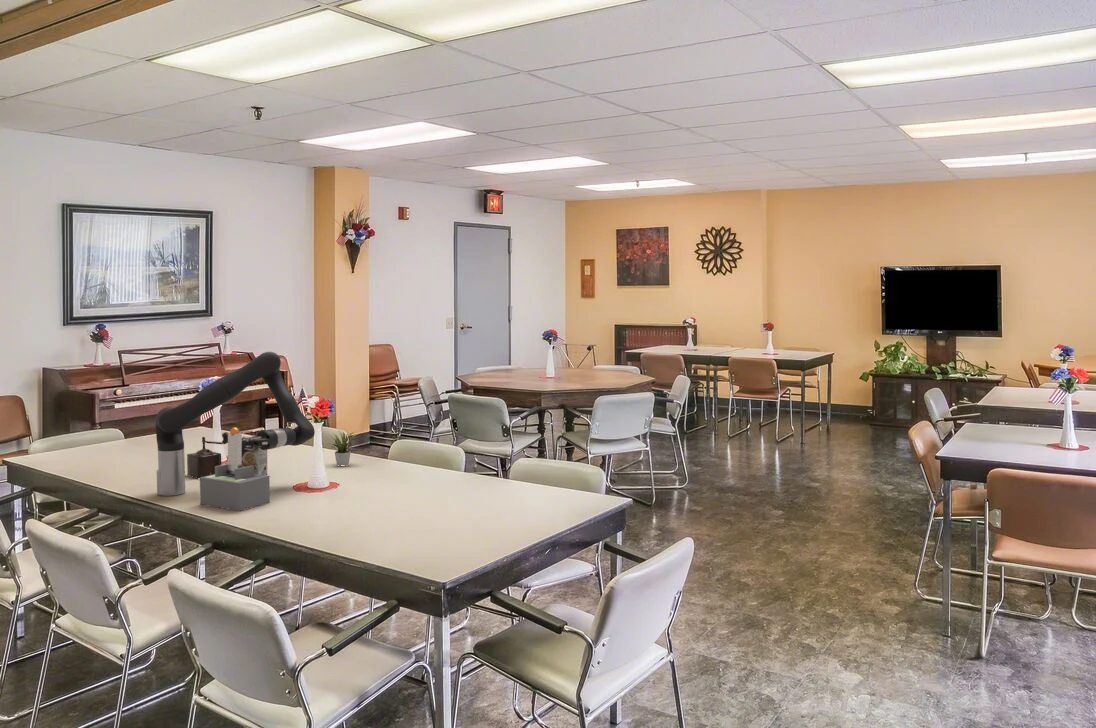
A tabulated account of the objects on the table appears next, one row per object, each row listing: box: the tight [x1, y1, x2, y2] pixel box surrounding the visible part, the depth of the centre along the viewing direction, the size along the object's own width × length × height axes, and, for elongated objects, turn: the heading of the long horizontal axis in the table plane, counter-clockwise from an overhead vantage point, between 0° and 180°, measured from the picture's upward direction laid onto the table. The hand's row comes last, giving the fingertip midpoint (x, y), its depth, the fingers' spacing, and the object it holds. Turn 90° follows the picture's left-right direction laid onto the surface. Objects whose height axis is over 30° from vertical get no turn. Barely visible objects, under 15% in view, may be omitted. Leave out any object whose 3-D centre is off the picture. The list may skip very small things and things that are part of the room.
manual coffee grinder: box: [186, 431, 229, 479], centre depth 346 cm, size 16×11×18 cm
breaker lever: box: [226, 427, 242, 476], centre depth 296 cm, size 3×6×18 cm, turn 63°
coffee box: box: [242, 436, 269, 476], centre depth 345 cm, size 9×6×16 cm
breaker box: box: [199, 463, 271, 511], centre depth 297 cm, size 14×20×14 cm
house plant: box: [329, 431, 358, 467], centre depth 367 cm, size 14×14×16 cm
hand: (236, 444), depth 297 cm, fingers closed
